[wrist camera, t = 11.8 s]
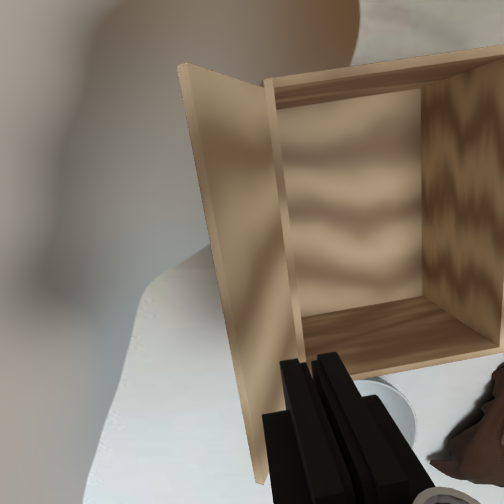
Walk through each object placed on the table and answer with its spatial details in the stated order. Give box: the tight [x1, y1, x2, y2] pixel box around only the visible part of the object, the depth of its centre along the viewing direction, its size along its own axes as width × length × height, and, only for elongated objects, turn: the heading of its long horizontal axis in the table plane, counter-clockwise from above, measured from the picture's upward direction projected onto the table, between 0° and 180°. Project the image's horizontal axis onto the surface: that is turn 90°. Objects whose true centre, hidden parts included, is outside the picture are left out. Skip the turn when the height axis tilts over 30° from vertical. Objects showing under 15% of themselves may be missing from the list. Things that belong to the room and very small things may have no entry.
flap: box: [177, 63, 299, 485], centre depth 21 cm, size 23×9×1 cm
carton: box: [260, 44, 504, 381], centre depth 31 cm, size 24×18×12 cm
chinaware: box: [353, 376, 417, 450], centre depth 39 cm, size 15×15×8 cm
